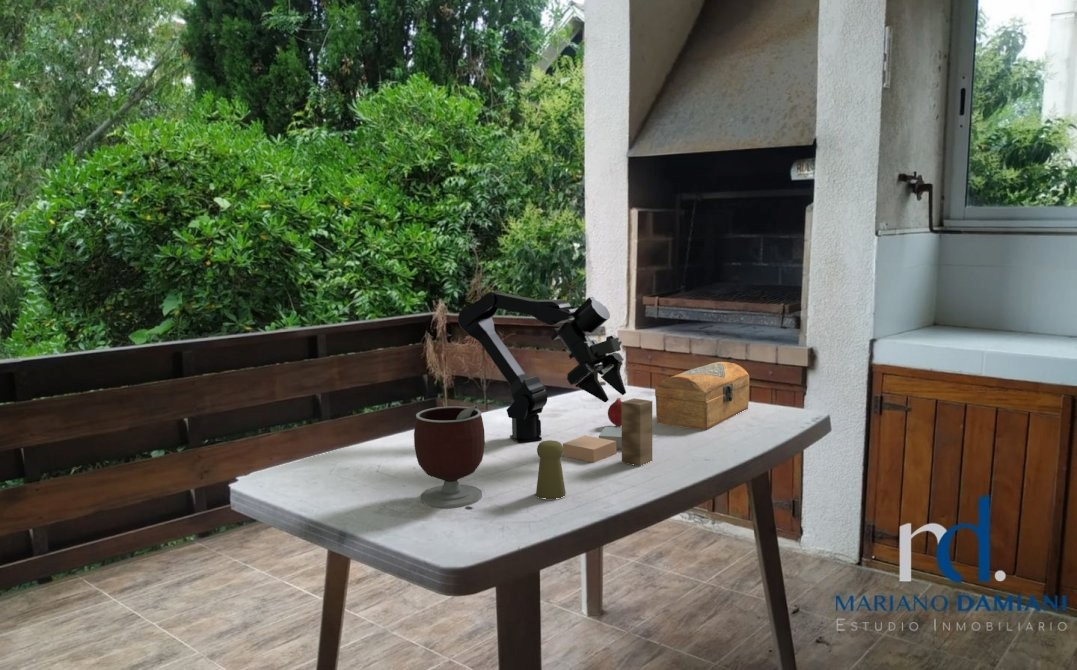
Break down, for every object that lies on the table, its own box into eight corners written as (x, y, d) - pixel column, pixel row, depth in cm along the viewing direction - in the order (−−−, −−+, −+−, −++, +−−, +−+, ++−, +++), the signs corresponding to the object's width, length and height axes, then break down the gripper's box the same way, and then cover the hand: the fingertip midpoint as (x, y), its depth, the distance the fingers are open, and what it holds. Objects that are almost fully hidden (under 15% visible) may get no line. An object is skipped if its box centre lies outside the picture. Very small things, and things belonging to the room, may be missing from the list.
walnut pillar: (621, 462, 178) (621, 402, 176) (633, 457, 182) (633, 398, 180) (640, 466, 175) (640, 404, 173) (652, 461, 179) (652, 400, 177)
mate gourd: (402, 497, 157) (398, 399, 154) (457, 481, 167) (454, 389, 164) (450, 516, 146) (447, 411, 143) (506, 498, 156) (503, 399, 153)
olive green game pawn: (531, 492, 159) (530, 439, 157) (559, 488, 161) (558, 436, 159) (542, 501, 153) (541, 447, 152) (570, 497, 155) (569, 443, 154)
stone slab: (598, 447, 190) (598, 435, 190) (605, 438, 199) (605, 426, 199) (635, 449, 188) (635, 437, 188) (640, 440, 197) (640, 428, 196)
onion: (630, 429, 208) (630, 399, 207) (608, 429, 208) (608, 400, 207) (628, 424, 213) (628, 395, 212) (607, 424, 213) (607, 395, 212)
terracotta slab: (562, 455, 184) (562, 443, 184) (585, 447, 191) (585, 435, 191) (594, 462, 179) (593, 449, 178) (616, 453, 185) (616, 441, 185)
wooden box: (709, 432, 204) (709, 379, 202) (653, 423, 214) (653, 373, 213) (754, 410, 228) (755, 363, 226) (702, 403, 238) (702, 358, 236)
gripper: (582, 328, 176) (622, 385, 173) (619, 320, 192) (656, 372, 189) (550, 357, 182) (588, 412, 178) (588, 346, 198) (624, 397, 194)
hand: (615, 397), depth 185 cm, fingers open, 9 cm apart
